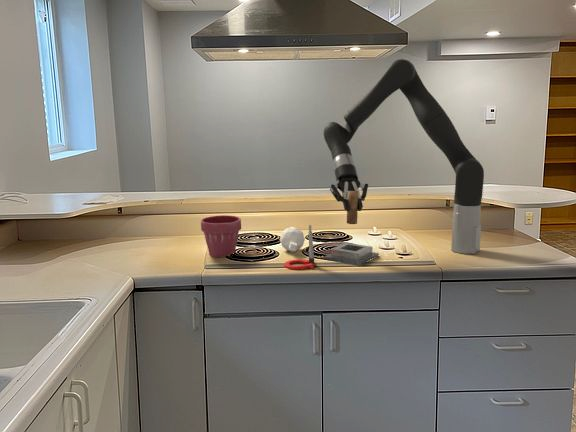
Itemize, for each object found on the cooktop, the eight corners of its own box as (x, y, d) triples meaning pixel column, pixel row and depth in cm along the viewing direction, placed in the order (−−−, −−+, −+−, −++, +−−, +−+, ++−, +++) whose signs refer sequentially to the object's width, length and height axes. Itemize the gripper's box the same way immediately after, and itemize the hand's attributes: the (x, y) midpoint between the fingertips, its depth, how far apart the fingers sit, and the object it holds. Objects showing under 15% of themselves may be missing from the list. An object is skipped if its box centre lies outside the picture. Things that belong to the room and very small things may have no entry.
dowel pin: (359, 222, 195) (360, 191, 192) (354, 224, 192) (355, 192, 190) (349, 221, 197) (350, 190, 194) (344, 223, 194) (345, 191, 192)
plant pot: (193, 254, 202) (192, 219, 199) (224, 246, 212) (223, 213, 209) (218, 262, 192) (217, 225, 190) (250, 253, 202) (249, 218, 199)
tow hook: (283, 271, 183) (314, 270, 183) (281, 229, 181) (312, 228, 180) (285, 263, 192) (314, 262, 192) (282, 223, 189) (312, 222, 189)
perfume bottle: (276, 242, 210) (277, 255, 199) (284, 220, 207) (285, 231, 196) (299, 248, 211) (301, 261, 200) (306, 226, 209) (309, 238, 197)
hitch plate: (378, 256, 198) (379, 246, 198) (360, 265, 187) (360, 255, 186) (343, 250, 206) (343, 240, 205) (324, 259, 195) (324, 249, 194)
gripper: (327, 163, 196) (336, 204, 187) (366, 162, 199) (377, 203, 189) (323, 176, 202) (331, 216, 193) (361, 175, 205) (371, 215, 196)
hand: (354, 209), depth 191 cm, fingers closed on dowel pin, 3 cm apart
